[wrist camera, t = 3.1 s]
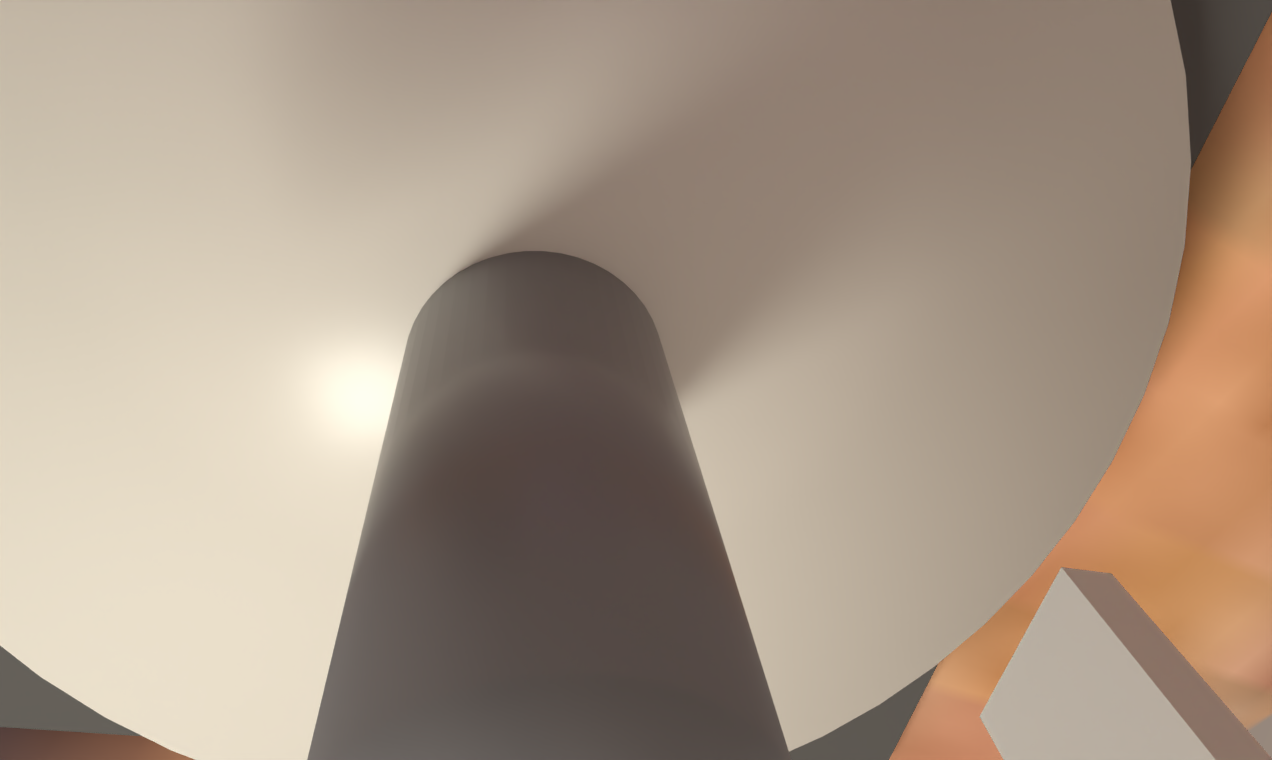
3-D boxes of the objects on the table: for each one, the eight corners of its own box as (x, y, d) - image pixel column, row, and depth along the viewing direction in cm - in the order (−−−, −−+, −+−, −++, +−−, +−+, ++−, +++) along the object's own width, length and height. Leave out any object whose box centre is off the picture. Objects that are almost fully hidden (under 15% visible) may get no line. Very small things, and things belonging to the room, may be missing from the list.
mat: (-270, -719, 10) (-313, -753, 10) (1337, -173, 15) (1367, -176, 14) (-61, 699, 20) (-77, 721, 19) (868, 764, 24) (876, 783, 24)
